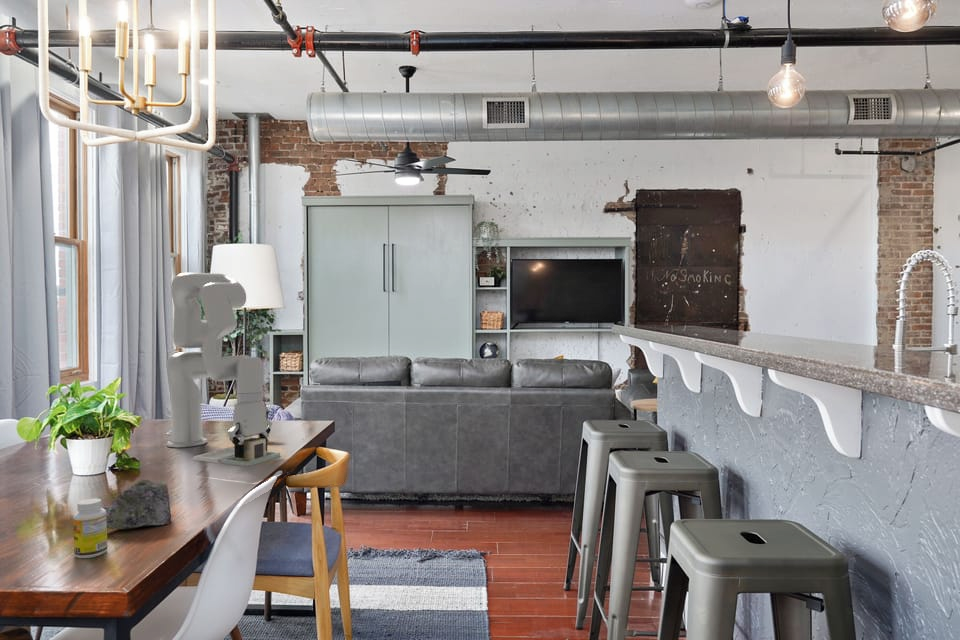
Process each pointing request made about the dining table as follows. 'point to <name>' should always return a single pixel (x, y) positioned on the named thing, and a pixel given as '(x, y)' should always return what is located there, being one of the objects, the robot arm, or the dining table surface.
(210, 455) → the tray white
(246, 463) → the tray sage
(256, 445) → the light wooden cube
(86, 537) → the supplement bottle
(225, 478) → the dining table surface
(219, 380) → the robot arm
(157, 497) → the mineral rock
